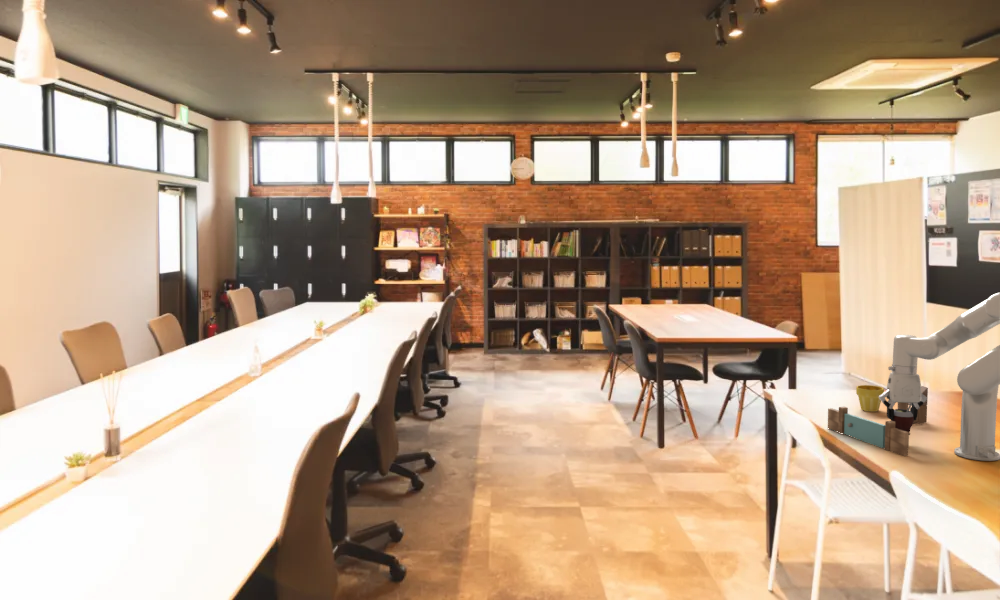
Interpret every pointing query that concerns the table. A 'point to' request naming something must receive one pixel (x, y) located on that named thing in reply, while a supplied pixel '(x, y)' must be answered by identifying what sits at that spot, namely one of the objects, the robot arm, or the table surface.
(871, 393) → the plant pot
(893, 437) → the gate frame
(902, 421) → the mate gourd
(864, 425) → the door
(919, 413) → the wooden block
